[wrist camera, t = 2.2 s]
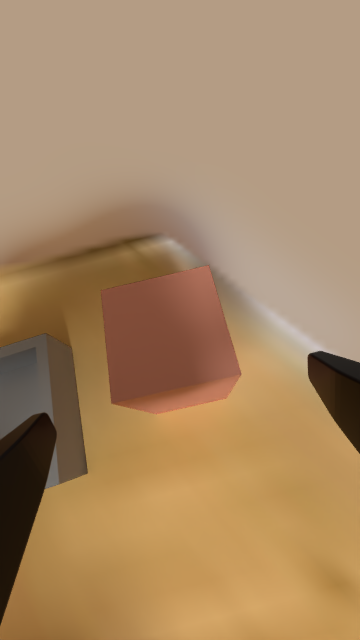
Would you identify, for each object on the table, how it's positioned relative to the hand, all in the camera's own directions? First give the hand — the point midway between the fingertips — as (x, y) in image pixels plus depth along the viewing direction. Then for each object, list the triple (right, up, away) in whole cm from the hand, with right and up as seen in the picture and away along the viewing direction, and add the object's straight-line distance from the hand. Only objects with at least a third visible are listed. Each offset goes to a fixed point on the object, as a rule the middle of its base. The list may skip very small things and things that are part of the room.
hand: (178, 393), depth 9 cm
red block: (0, -1, +10) cm, 10 cm away
